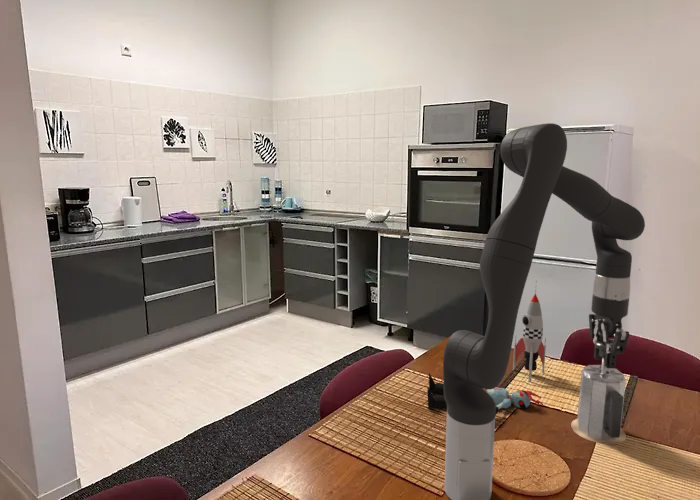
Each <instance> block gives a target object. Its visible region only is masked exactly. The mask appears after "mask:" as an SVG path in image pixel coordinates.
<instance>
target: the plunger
mask: <svg viewBox="0 0 700 500" xmlns="http://www.w3.org/2000/svg"><path fill="white" fill-rule="evenodd" d="M610 345H611V347H612V343H611V344H610ZM595 347H596V348H597V349H599V356H601V357H602V360H601V365H602V368H601V373H602V374H606V367H605V356H606V343H604V341H603V340H597V341H595V344H594V348H595Z"/></svg>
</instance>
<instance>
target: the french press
mask: <svg viewBox="0 0 700 500" xmlns="http://www.w3.org/2000/svg"><path fill="white" fill-rule="evenodd" d="M601 368H602V364H588V365H587V366H586V367H585V368H583V369H581V372H580V385H579V394H578V395H579V397H578V406H577V418H576V419H577V427H578V430H579V431H580V432H582V433H583V434H585V435H586V436H588V437H591V438H594V439H597V440H602V441H614V440H616V439H617V438H618V437H620V431H621V429H622V421H623V411H624V410H623V409H624V404H625V403H624V401H625V394H626V393H625V392H626V382H627V380H626V378H625V376H624V373H622V372H621V371H620V370H618V368H616V367H615V368H610V369H608V368H606V374H602V373H601Z"/></svg>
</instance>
